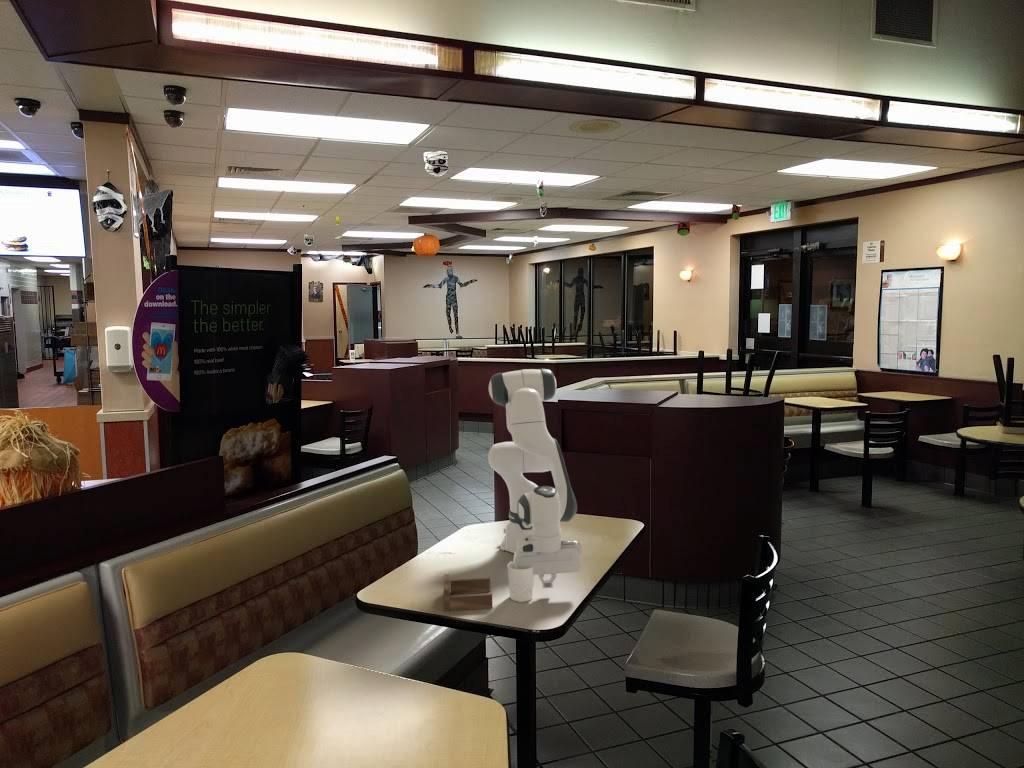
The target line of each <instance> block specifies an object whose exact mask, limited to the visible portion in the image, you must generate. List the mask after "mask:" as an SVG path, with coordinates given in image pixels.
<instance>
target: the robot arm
mask: <svg viewBox="0 0 1024 768" xmlns="http://www.w3.org/2000/svg"><path fill="white" fill-rule="evenodd" d="M557 383H558V382H557V378H556V377H555V375H554V373H553V371H551V370H550V369H548V368H538V369H535V368H530V369H529V368H528V369H527V368H525V369H519V370H513V371H506V372H502V371H501V372H498V373H495V374H493V375H492V376H491V377H490V380H489V384H488V393H489V396H490V398H491V401H492V402H493V403H494V404H496V405H499V406H502V407H503V408H505V416H506V417H505V418H506V428H507V431H508V433H510V434H511V439H512V441H503V442H498V443H495V444H493V445H492V446H491V447H490V448H489V451H488V456H487V459H488V460H487V461H488V464H489V466H490V468H491V469H492V470H493V471H495V472H496V473H497V474H498V475H499V476H500V477H501V478H502V479H503V480H504V482H505V484H506V486H507V490H508V494H509V495H508V496H509V510H508V520H509V522H508V523H507V525H506V526H504V527H503V534H505V535H504V537H503V539H502V542H501V545H500V549H501V551H504V550H505V552H510V553H512V554H513V558H512V559H513V569H528V568H531V567H532V566H533V575H534V576H537V575H538V577H539V580H540V581H541V586H542V589H552V588H553V587H554V581H555V579H556V578H557V574H567V573H568V574H570V573H579V572H580V571H581V570H582V562H581V553H582V544H581V543H580V542H578V541H577V540H562V530H561V526H560V525H561V523H565V522H566V523H568V522H570V521H571V520H572V519H574V516H575V515H576V514H577V512H578V504H577V498H576V496H575V493H574V491H573V488H572V485H571V482H570V479H569V478H570V477H569V474H568V472H567V471H568V470H567V467H566V463H565V459H564V457H563V456H564V455H563V453H562V450H561V446H560V444H559V442H558V440H557V438H554V437H552V436H551V434H550V432H549V431H548V428H547V421H546V414H545V409H544V405H543V402H545V401H548V400H551V399H553V398H554V396H555V394H556V392H557V387H558V386H557ZM549 471H550V473H551V476H552V479H553V480H552V481H553V484H554V487H552V486H549V485H540V486H539V485H537V484H536V483H535V482H533V481H531V480H528V479H527V478H526V477H525V476H524V474H523V473H546V472H549ZM500 549H499V550H500ZM545 575H550V579H549V580H545V579H544V577H545Z"/></svg>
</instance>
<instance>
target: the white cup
mask: <svg viewBox="0 0 1024 768" xmlns="http://www.w3.org/2000/svg"><path fill="white" fill-rule="evenodd" d="M506 566H507V575H508V576H507V579H508V588H509V589H508V590H509V598H510V599H511V601H514V602H519V603H523V602H524V603H525V602H528V601H530V600H532V599H533V597H534V584H535V583H534V582H535V575H533V566H532V567H531V568H528V569H513V561H510V562H509V563H507V565H506Z"/></svg>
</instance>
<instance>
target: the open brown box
mask: <svg viewBox="0 0 1024 768" xmlns="http://www.w3.org/2000/svg"><path fill="white" fill-rule="evenodd" d="M443 575H444V576H443V607H444V609H443V611H444V612H450V611H451V610H454V611H467V610H468V611H469V610H486V609H493V606H494V605H493V593H491V578H490V577H482V578H481V577H479V578H477V577H476V578H463V579H462V578H461V579H460V578H459V579H450V578H451V577H450V573H444V574H443ZM489 592H490V593H489ZM473 593H474V594H473ZM457 594H459V595H457Z"/></svg>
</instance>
